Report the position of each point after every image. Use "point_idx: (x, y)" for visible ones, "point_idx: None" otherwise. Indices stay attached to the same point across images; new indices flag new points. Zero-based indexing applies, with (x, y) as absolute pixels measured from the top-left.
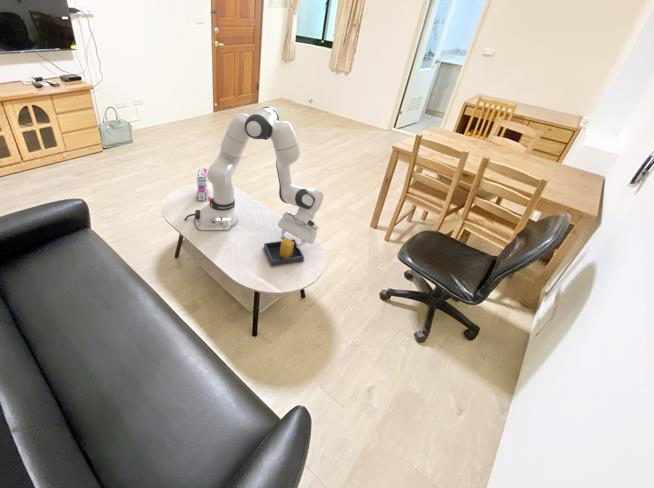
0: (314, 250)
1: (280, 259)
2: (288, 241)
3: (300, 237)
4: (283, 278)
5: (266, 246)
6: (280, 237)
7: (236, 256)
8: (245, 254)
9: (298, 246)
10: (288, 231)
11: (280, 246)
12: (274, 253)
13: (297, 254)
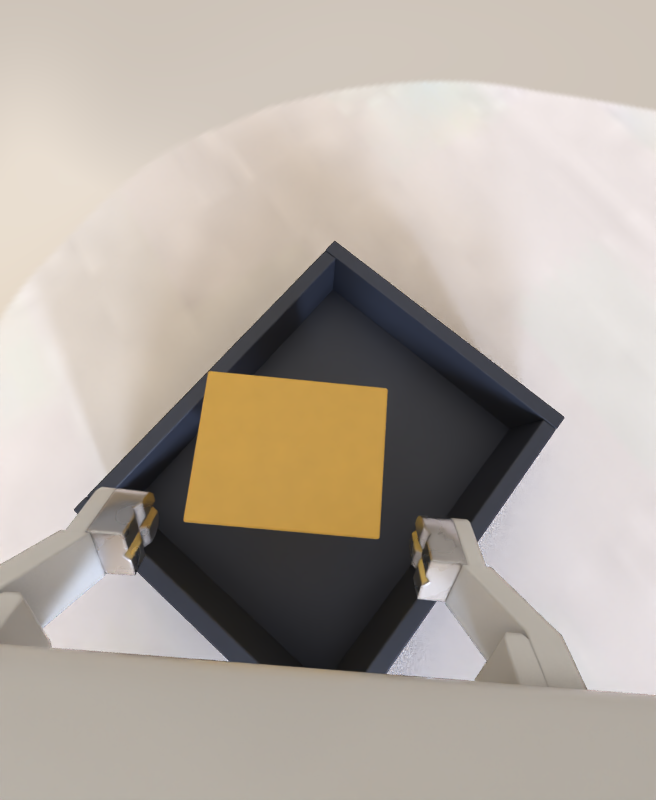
0: None
1: (283, 310)
2: (284, 467)
3: (3, 665)
4: (186, 233)
5: (514, 388)
6: (470, 524)
7: (613, 218)
8: (581, 274)
9: (95, 502)
10: (416, 684)
11: None
12: (402, 422)
13: (205, 560)
